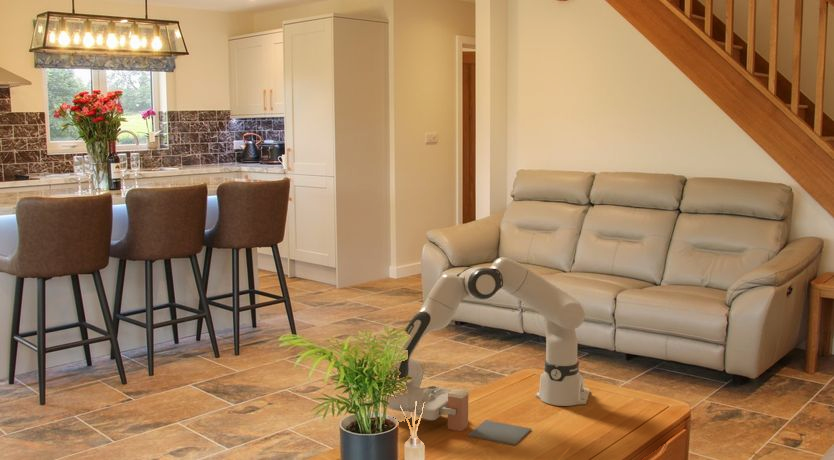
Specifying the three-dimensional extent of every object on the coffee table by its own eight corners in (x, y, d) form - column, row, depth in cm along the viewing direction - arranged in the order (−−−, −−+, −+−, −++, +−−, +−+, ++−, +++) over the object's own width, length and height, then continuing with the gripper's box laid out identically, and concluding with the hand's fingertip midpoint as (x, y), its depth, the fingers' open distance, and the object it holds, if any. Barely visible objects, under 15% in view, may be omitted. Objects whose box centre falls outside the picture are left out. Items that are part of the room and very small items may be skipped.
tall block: (454, 423, 263) (454, 388, 261) (468, 426, 260) (468, 391, 259) (447, 428, 258) (447, 393, 257) (461, 431, 256) (461, 395, 254)
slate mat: (485, 421, 264) (485, 419, 264) (531, 430, 257) (531, 428, 257) (468, 435, 252) (468, 434, 252) (515, 445, 245) (515, 443, 245)
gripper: (408, 402, 255) (446, 409, 249) (436, 384, 273) (473, 390, 267) (408, 420, 256) (446, 428, 250) (436, 401, 274) (473, 408, 267)
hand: (460, 408), depth 258 cm, fingers closed on tall block, 5 cm apart
